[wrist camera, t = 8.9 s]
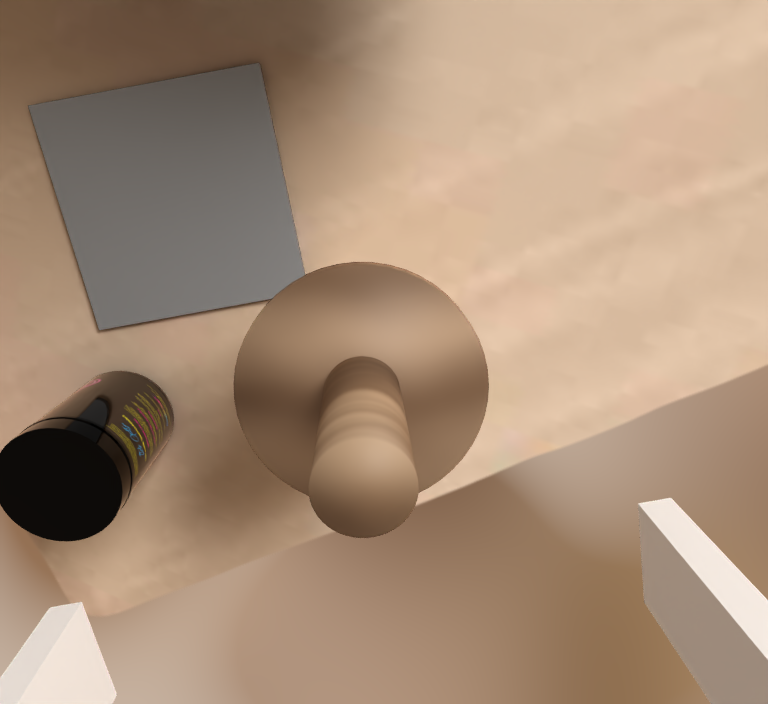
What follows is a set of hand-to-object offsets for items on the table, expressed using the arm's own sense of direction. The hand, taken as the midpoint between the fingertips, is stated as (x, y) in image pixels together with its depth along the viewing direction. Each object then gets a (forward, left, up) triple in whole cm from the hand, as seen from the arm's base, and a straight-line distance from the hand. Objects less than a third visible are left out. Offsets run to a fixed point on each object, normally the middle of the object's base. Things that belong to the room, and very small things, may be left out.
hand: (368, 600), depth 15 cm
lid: (0, 0, -16) cm, 16 cm away
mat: (-10, -10, -28) cm, 32 cm away
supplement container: (+3, -17, -29) cm, 33 cm away
